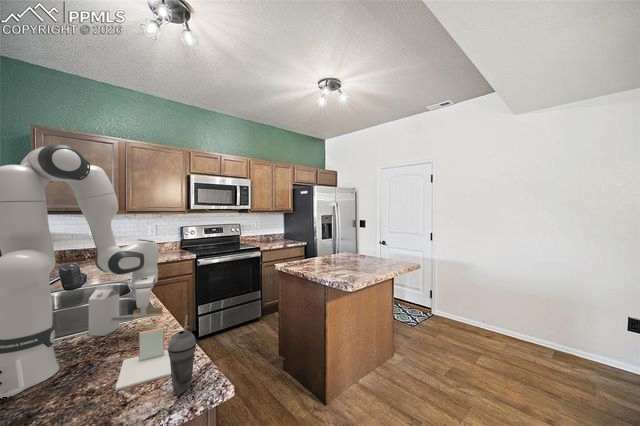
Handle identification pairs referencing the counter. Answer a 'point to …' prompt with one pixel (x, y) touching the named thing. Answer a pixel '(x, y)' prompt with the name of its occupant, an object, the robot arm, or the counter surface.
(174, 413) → the counter surface
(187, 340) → the beverage cup
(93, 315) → the milk carton
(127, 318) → the turner
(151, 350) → the tile
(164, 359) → the mat
